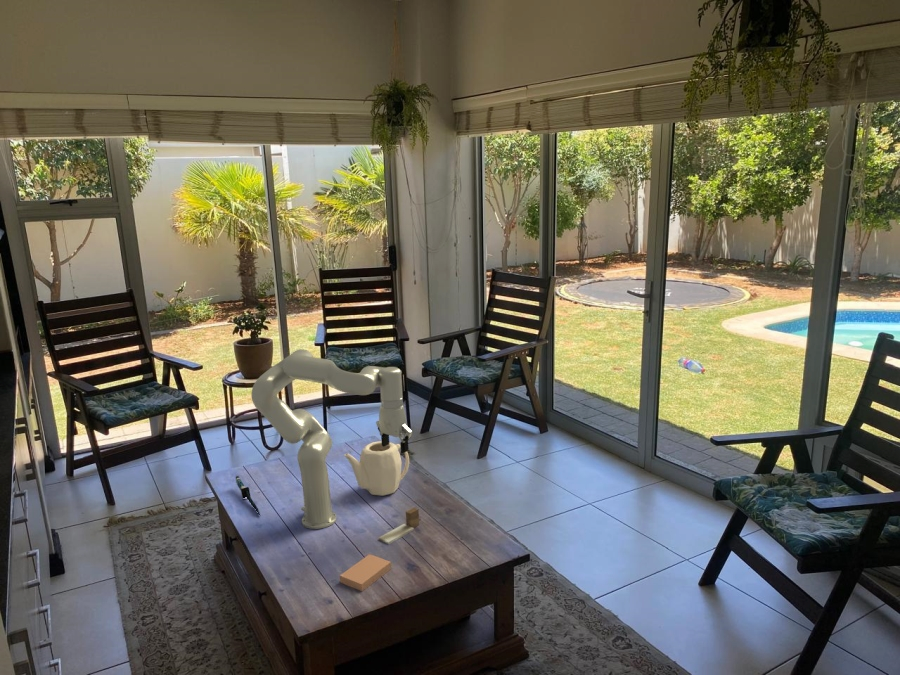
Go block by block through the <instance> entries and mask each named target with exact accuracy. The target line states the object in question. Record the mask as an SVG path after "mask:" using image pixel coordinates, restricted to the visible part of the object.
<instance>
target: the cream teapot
mask: <svg viewBox="0 0 900 675" xmlns="http://www.w3.org/2000/svg"><path fill="white" fill-rule="evenodd" d="M389 443H390V444H389V445H386V446H384V447H383V446H382V440H379V441H373V442H370V443H369V444H367V445H365V446H364V447H363V449H362V450H361V453H360V456H359V458H360V459H359V460H358V459H356V458H355V457H354V456H353V455H351V454H350V453H345V454H344V457H345V458H346V459H347V461H348V462H349V464H350V465H351V467H352V471H353V474H354V477H355V479H356V481H357V485H358V486H359V488H361V489H363V490H367V491H368V492H369V493H370V495H372V496H373V495H374V496H381V497H382V496H387V495H390V494H394V493H395V492H396V491H397V489H399V485H400V483H401V481H402V480H403V479H404V477H405V476H406V474H407V473H408V471H409V466H410V456H409V453H408V451H407V452H405V453H404V455H405V463H404V466H403V469H402V465H403V464H402V463H403V461H402V459H401V454H400V453H401V452H399V450H401V446H400V444H399V443H396V444H395V443H393V442H390V441H389Z"/></svg>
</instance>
